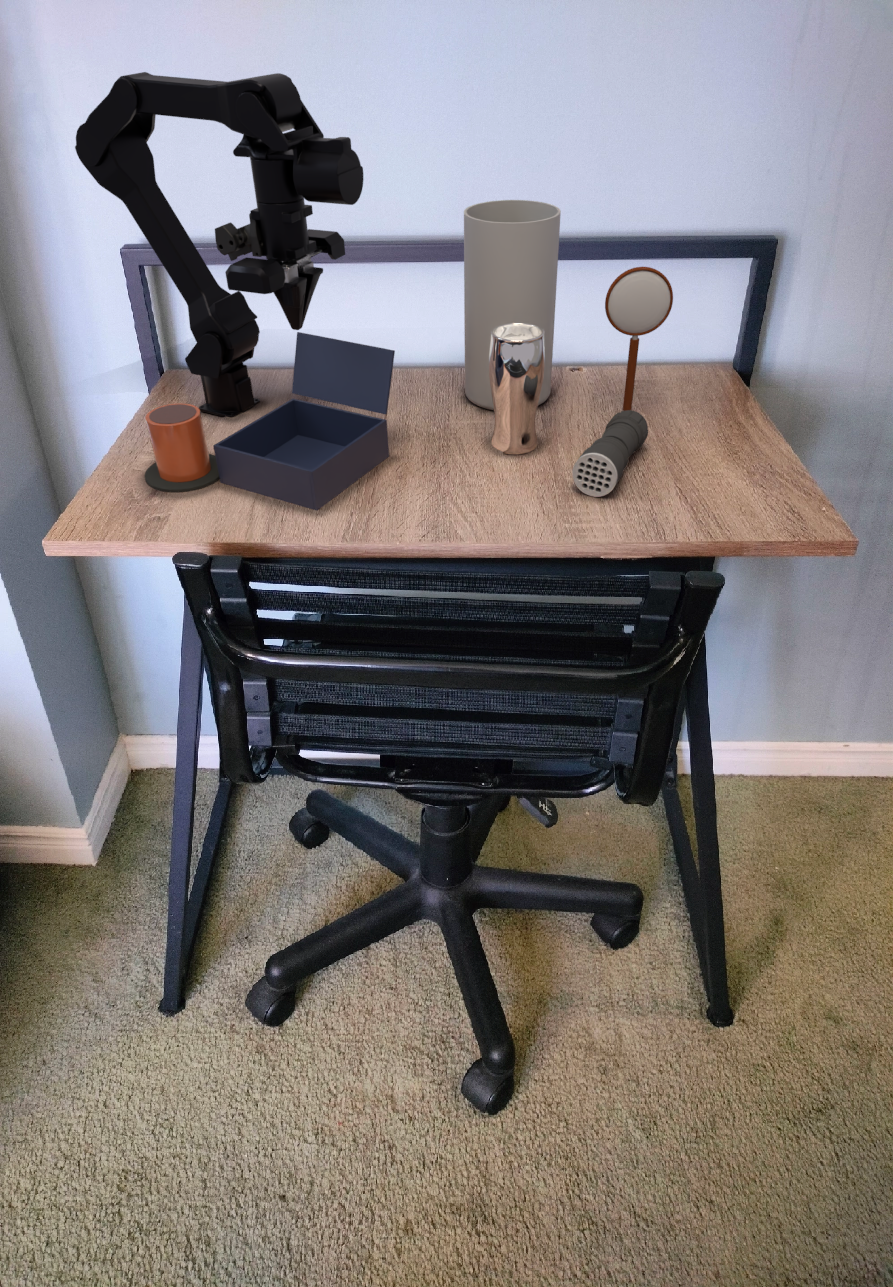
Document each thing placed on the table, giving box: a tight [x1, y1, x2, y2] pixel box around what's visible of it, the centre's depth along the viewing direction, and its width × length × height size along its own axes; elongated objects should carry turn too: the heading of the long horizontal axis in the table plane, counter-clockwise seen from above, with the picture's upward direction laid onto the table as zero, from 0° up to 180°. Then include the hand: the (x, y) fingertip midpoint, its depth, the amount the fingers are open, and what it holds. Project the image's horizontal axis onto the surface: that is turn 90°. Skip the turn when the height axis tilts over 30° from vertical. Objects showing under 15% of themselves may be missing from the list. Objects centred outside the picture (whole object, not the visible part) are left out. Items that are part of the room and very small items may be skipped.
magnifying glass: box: [604, 266, 674, 411], centre depth 118 cm, size 9×2×20 cm, turn 88°
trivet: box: [144, 453, 220, 494], centre depth 113 cm, size 10×10×1 cm
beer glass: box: [489, 323, 545, 456], centre depth 114 cm, size 7×7×15 cm
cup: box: [145, 403, 211, 482], centre depth 110 cm, size 6×6×8 cm
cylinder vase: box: [463, 199, 561, 411], centre depth 123 cm, size 12×12×25 cm
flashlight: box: [571, 409, 649, 498], centre depth 111 cm, size 15×5×5 cm, turn 154°
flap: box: [291, 331, 396, 415], centre depth 114 cm, size 8×15×1 cm
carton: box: [213, 398, 390, 511], centre depth 112 cm, size 16×15×5 cm
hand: (296, 329), depth 117 cm, fingers closed
